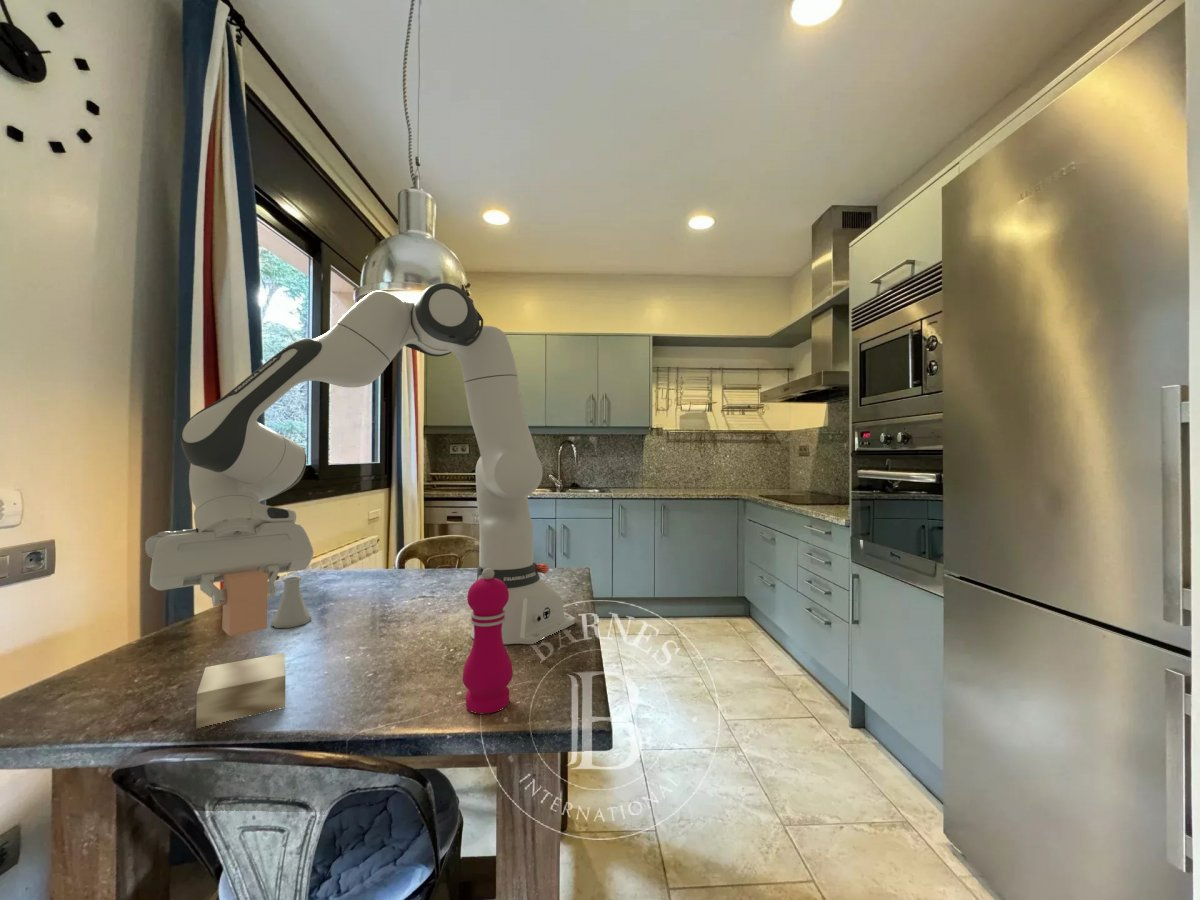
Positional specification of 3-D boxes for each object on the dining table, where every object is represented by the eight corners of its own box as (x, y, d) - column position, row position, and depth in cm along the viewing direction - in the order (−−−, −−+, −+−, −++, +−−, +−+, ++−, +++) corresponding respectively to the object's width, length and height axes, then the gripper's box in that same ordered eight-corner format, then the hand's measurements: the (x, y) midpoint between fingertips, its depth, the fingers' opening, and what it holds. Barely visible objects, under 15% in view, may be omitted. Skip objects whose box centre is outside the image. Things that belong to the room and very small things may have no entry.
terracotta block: (258, 621, 76) (259, 569, 76) (266, 628, 73) (267, 574, 73) (222, 628, 72) (223, 574, 72) (229, 636, 69) (230, 579, 69)
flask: (292, 630, 103) (292, 582, 103) (263, 628, 105) (264, 581, 105) (318, 619, 110) (318, 575, 111) (291, 617, 112) (291, 573, 112)
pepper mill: (467, 693, 75) (468, 563, 76) (515, 691, 76) (515, 562, 76) (457, 717, 68) (458, 573, 69) (509, 715, 69) (510, 573, 69)
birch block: (283, 683, 79) (284, 652, 79) (285, 710, 71) (285, 675, 71) (204, 700, 74) (205, 667, 74) (196, 731, 65) (196, 693, 65)
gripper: (146, 519, 70) (153, 601, 63) (305, 509, 85) (324, 574, 79) (141, 547, 73) (148, 628, 66) (296, 532, 88) (314, 597, 81)
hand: (245, 599), depth 73 cm, fingers closed on terracotta block, 4 cm apart
